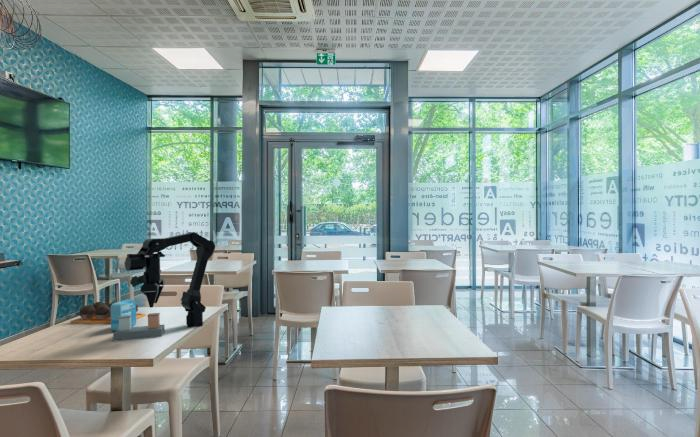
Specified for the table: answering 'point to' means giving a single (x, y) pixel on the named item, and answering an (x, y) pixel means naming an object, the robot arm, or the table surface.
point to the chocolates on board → (98, 314)
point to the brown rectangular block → (153, 320)
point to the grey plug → (124, 322)
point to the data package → (122, 312)
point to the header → (139, 333)
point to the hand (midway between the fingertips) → (153, 305)
